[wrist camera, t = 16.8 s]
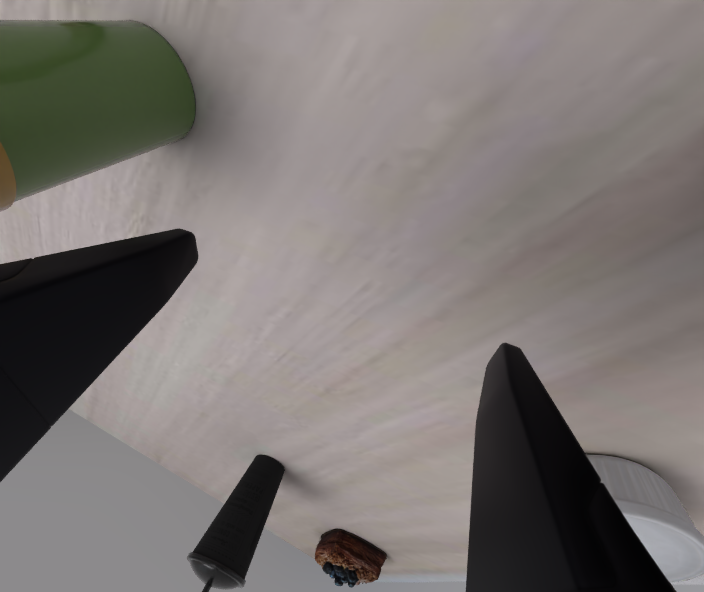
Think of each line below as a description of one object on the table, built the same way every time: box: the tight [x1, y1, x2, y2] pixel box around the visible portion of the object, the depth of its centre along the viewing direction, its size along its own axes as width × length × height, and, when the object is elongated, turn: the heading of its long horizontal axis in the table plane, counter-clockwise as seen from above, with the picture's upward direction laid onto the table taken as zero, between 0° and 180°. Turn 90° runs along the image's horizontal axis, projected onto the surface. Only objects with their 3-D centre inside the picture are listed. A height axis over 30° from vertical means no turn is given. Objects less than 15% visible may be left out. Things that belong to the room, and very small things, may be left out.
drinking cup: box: [187, 455, 285, 592], centre depth 44 cm, size 8×8×20 cm
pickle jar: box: [0, 20, 195, 212], centre depth 17 cm, size 7×7×12 cm
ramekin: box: [586, 455, 704, 582], centre depth 29 cm, size 11×11×5 cm
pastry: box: [315, 529, 387, 587], centre depth 60 cm, size 11×12×6 cm
